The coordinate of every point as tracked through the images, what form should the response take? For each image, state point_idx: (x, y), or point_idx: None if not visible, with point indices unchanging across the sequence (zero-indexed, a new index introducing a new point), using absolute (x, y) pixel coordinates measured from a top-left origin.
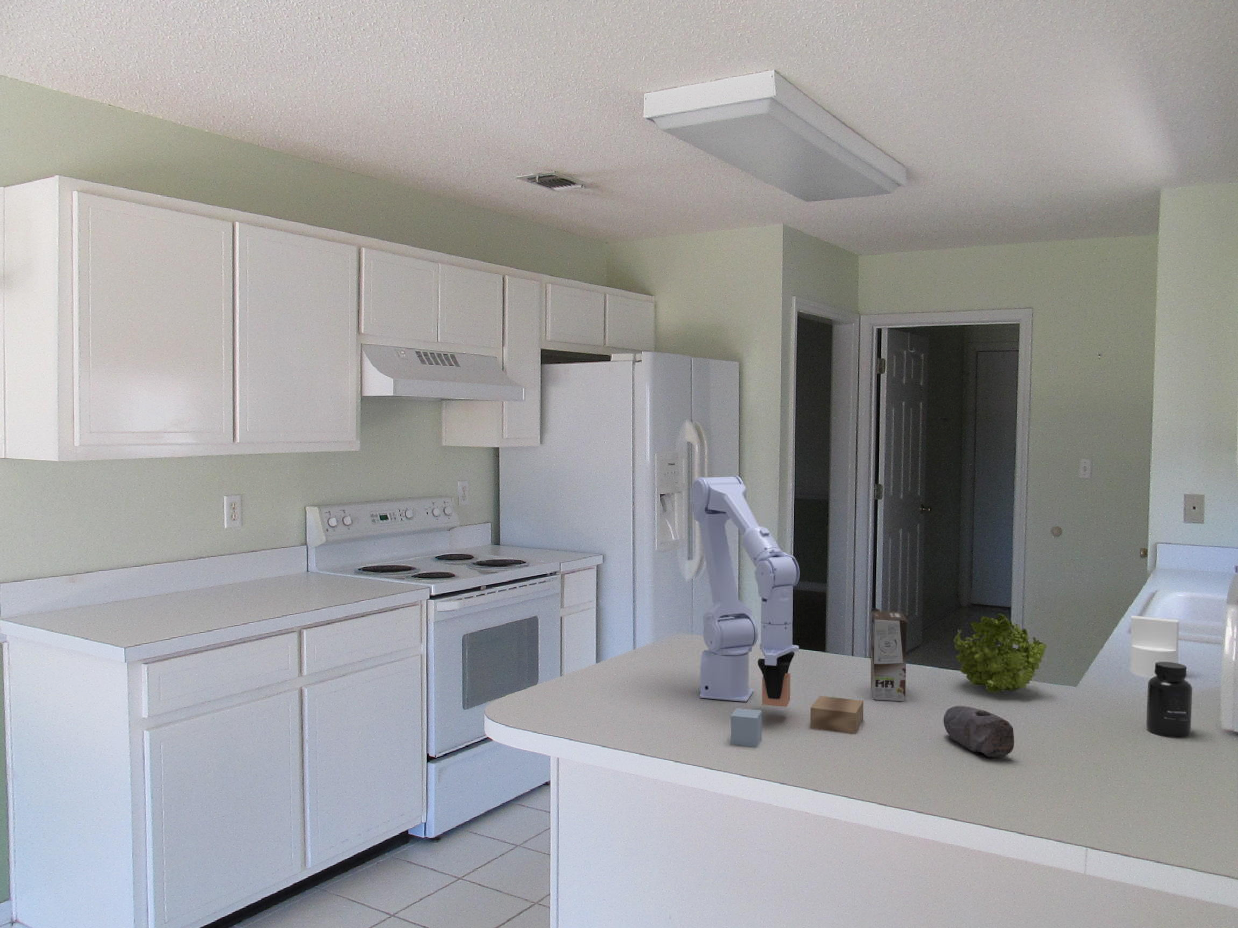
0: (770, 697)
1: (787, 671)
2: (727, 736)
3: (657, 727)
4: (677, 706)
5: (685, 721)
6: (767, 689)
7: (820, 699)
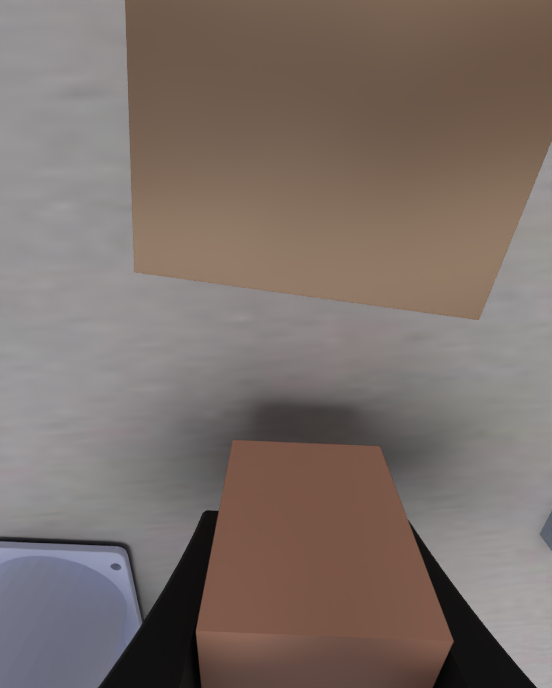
0: None
1: (185, 666)
2: (545, 553)
3: None
4: None
5: None
6: None
7: (239, 259)
